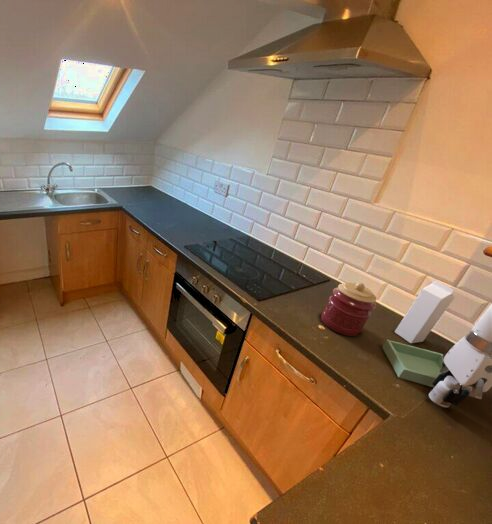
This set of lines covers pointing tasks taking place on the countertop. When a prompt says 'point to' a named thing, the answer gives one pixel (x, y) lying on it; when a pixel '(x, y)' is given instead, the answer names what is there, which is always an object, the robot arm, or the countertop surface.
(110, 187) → the countertop surface
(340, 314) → the kitchen canister
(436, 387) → the pill bottle
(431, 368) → the tray
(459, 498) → the countertop surface
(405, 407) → the countertop surface
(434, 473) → the countertop surface
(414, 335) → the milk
